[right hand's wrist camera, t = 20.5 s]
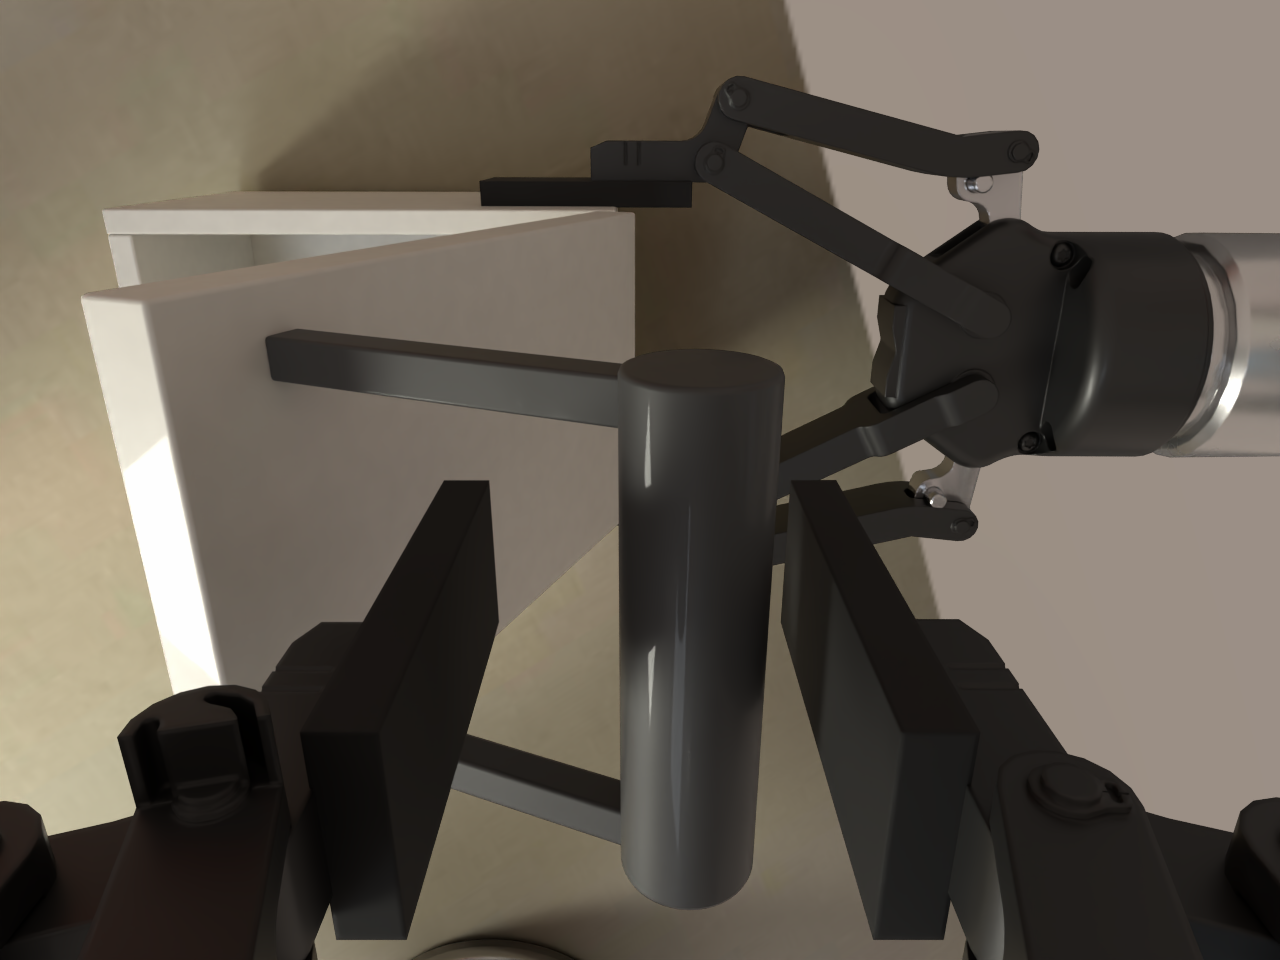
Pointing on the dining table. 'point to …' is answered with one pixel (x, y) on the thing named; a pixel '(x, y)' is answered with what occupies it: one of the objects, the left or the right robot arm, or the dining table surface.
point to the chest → (290, 227)
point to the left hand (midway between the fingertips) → (497, 344)
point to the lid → (468, 450)
